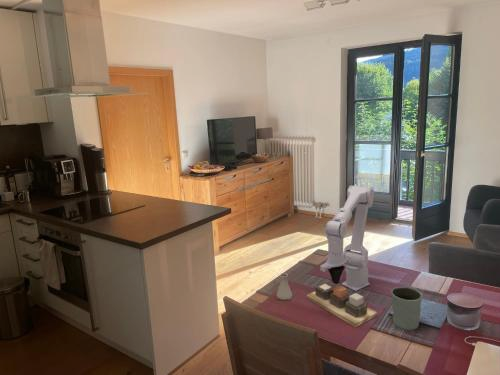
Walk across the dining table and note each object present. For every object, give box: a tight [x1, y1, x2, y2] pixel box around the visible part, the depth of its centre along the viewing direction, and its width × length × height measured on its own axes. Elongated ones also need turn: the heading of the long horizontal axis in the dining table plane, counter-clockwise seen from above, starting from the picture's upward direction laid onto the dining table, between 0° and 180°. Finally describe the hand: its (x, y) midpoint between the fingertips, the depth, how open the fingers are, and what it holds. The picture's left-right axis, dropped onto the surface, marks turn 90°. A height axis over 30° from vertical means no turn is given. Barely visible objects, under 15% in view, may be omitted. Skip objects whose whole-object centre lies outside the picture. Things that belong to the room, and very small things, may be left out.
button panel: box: [305, 282, 378, 328], centre depth 146 cm, size 12×26×5 cm, turn 34°
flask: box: [275, 272, 294, 301], centre depth 155 cm, size 7×7×10 cm
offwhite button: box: [319, 283, 332, 291], centre depth 152 cm, size 4×4×3 cm
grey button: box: [349, 292, 364, 307], centre depth 138 cm, size 4×4×3 cm
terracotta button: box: [333, 284, 348, 299], centre depth 145 cm, size 4×4×3 cm
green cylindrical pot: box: [390, 286, 423, 331], centre depth 133 cm, size 10×10×12 cm
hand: (335, 282), depth 146 cm, fingers closed
